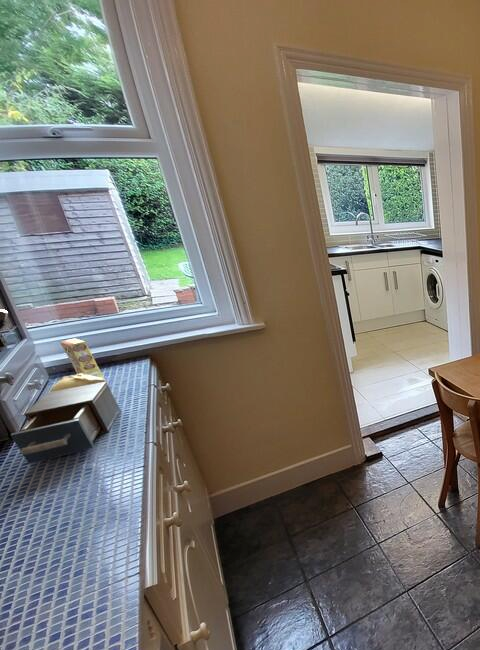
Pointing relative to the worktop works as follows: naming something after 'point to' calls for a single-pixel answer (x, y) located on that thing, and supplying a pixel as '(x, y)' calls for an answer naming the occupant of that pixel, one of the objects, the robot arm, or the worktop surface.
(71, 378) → the sculpture
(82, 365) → the candy box
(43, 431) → the drawer
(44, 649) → the worktop surface
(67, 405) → the cabinet
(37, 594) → the worktop surface
